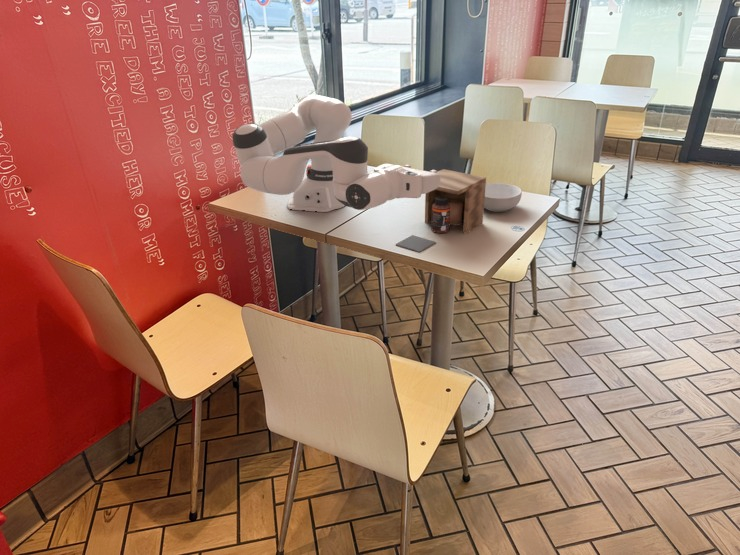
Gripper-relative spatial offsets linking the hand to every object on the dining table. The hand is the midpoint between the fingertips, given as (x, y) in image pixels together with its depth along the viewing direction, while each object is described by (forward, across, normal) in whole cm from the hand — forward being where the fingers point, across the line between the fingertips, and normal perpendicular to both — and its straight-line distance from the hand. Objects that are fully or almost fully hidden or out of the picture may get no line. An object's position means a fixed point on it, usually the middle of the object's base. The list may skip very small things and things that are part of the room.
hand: (422, 170), depth 160 cm
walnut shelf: (+17, -1, -24) cm, 29 cm away
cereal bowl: (+42, +4, -24) cm, 49 cm away
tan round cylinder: (+21, -1, -24) cm, 32 cm away
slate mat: (-2, -1, -23) cm, 23 cm away
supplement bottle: (+12, -1, -24) cm, 27 cm away
